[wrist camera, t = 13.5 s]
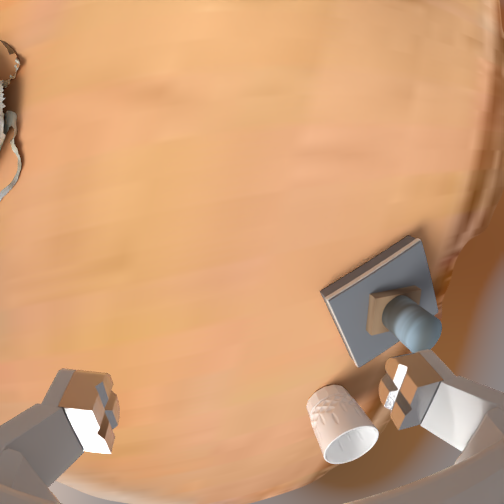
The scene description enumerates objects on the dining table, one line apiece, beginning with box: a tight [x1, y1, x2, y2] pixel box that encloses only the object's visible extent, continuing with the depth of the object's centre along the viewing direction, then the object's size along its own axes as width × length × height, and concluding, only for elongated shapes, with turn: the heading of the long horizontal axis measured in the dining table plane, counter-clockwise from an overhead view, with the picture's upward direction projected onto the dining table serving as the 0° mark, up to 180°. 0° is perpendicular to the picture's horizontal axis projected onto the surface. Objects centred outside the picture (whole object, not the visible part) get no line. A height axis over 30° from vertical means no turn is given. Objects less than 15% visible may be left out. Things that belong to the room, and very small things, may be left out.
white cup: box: [306, 385, 379, 464], centre depth 40 cm, size 8×8×10 cm
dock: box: [320, 236, 438, 367], centre depth 39 cm, size 14×12×3 cm
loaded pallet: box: [366, 285, 442, 353], centre depth 34 cm, size 7×5×8 cm
